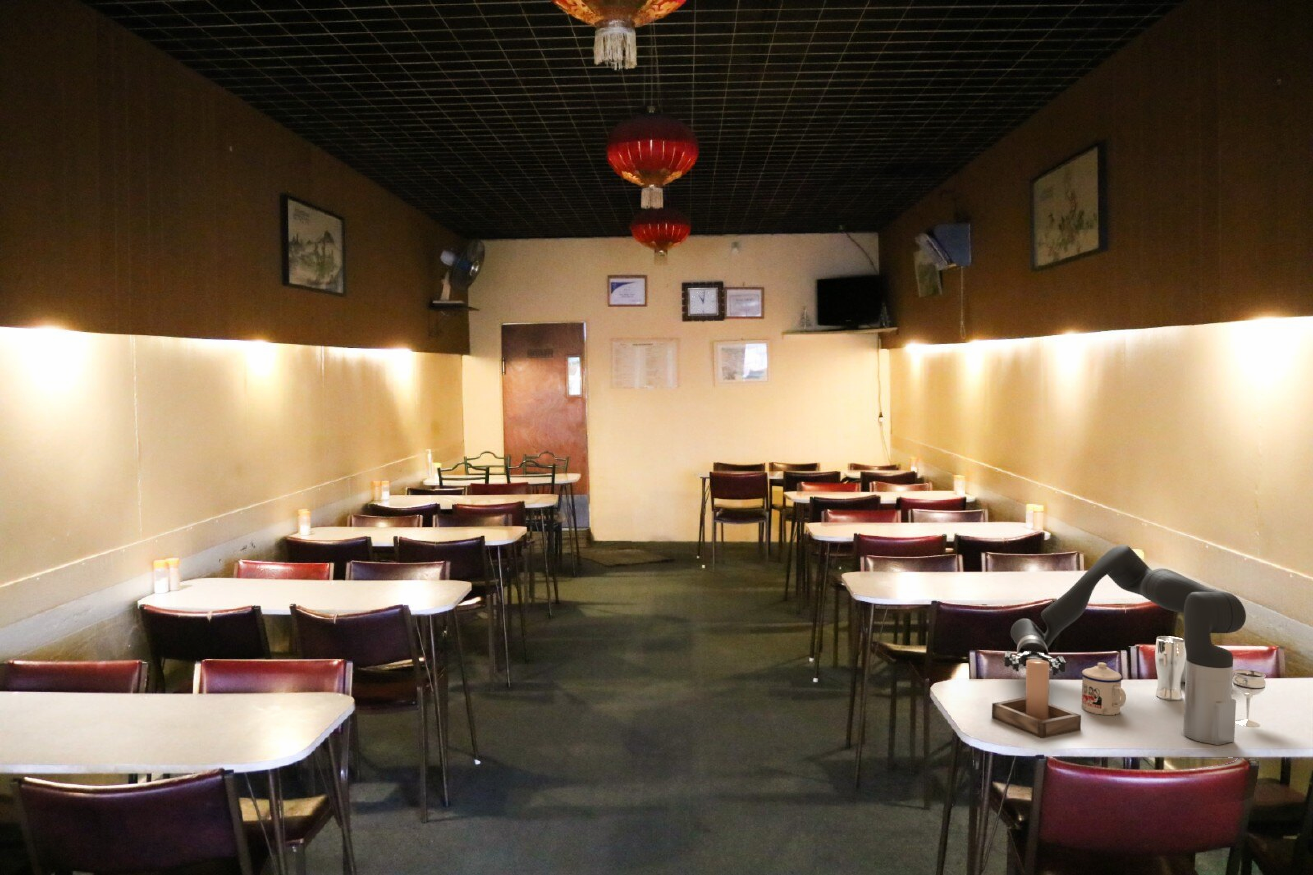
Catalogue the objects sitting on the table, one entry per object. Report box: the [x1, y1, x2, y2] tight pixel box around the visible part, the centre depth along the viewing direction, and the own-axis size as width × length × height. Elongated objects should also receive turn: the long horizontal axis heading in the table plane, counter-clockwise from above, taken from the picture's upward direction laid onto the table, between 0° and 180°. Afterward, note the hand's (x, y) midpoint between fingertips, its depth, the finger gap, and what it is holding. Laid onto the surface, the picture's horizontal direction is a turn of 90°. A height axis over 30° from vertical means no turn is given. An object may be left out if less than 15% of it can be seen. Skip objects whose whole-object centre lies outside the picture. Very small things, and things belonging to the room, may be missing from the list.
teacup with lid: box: [1081, 661, 1127, 716], centre depth 236 cm, size 12×9×12 cm
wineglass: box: [1232, 668, 1267, 728], centre depth 228 cm, size 7×7×12 cm
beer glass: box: [1154, 635, 1186, 701], centre depth 248 cm, size 7×7×15 cm
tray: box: [991, 696, 1082, 739], centre depth 227 cm, size 15×12×4 cm
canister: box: [1025, 659, 1050, 720], centre depth 227 cm, size 5×5×14 cm
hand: (1035, 669), depth 237 cm, fingers open, 8 cm apart
